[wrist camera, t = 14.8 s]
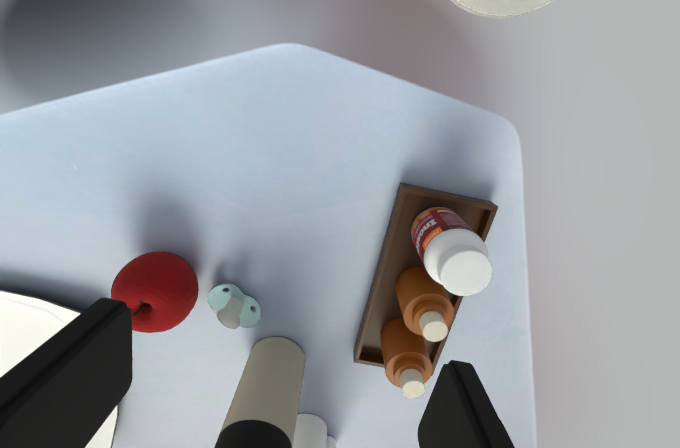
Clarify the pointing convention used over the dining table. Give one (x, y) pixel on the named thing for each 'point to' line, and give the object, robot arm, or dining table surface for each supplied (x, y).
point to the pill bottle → (451, 251)
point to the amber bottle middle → (424, 304)
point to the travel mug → (266, 397)
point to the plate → (39, 341)
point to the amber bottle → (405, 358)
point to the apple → (156, 290)
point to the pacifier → (233, 307)
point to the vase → (311, 433)
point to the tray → (411, 264)
